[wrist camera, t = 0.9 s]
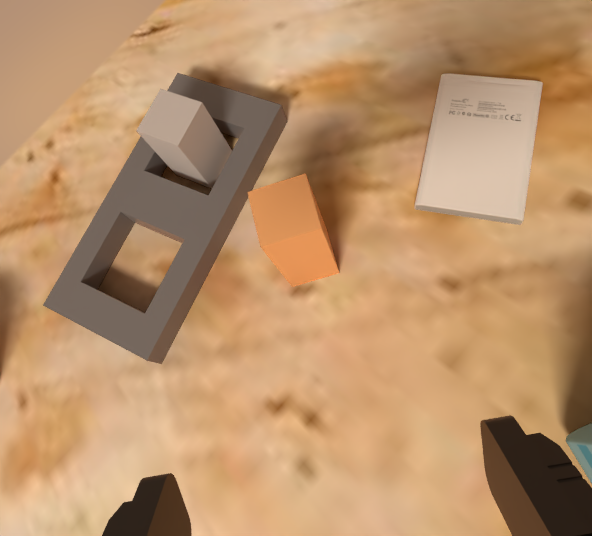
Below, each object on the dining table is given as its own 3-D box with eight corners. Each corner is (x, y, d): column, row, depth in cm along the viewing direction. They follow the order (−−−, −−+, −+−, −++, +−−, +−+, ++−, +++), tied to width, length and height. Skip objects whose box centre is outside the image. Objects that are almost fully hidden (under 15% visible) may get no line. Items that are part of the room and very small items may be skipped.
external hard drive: (413, 211, 41) (439, 83, 44) (519, 227, 39) (539, 92, 42) (414, 203, 40) (441, 71, 43) (524, 220, 38) (544, 79, 41)
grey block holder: (188, 89, 49) (152, 33, 42) (287, 121, 45) (266, 66, 38) (61, 311, 44) (-2, 290, 37) (161, 363, 41) (112, 352, 34)
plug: (339, 272, 40) (321, 228, 31) (292, 286, 41) (260, 246, 31) (326, 228, 42) (305, 173, 32) (281, 242, 42) (247, 192, 33)
